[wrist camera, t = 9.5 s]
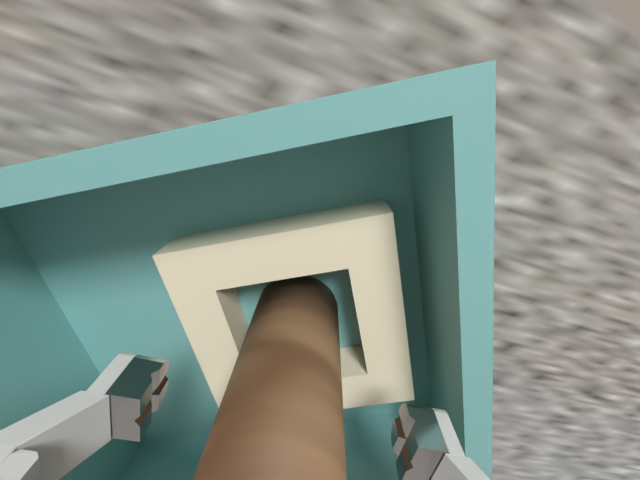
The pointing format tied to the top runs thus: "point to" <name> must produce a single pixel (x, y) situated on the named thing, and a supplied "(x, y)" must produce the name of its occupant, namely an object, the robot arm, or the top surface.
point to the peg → (283, 392)
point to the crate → (263, 264)
